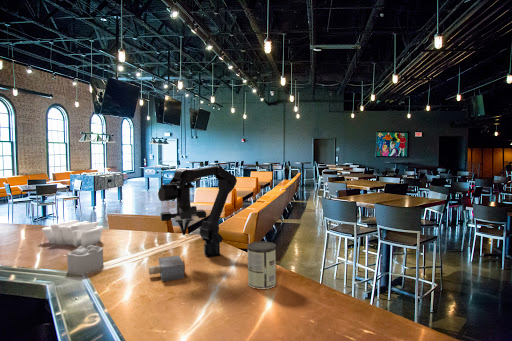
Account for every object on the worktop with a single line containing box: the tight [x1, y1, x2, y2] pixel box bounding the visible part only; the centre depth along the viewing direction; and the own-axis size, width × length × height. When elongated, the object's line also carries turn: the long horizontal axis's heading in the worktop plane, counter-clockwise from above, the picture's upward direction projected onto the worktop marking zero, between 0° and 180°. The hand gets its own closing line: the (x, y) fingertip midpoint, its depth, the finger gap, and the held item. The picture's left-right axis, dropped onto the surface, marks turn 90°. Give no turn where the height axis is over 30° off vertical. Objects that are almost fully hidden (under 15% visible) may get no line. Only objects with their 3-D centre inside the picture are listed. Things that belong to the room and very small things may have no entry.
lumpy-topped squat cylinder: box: [66, 244, 104, 275], centre depth 130 cm, size 10×13×9 cm
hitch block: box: [158, 255, 185, 282], centre depth 122 cm, size 8×12×5 cm, turn 22°
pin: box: [148, 259, 186, 276], centre depth 122 cm, size 13×5×5 cm, turn 112°
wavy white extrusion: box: [41, 219, 104, 248], centre depth 168 cm, size 35×16×11 cm, turn 67°
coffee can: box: [246, 240, 277, 290], centre depth 113 cm, size 10×10×14 cm
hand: (183, 234), depth 136 cm, fingers closed
